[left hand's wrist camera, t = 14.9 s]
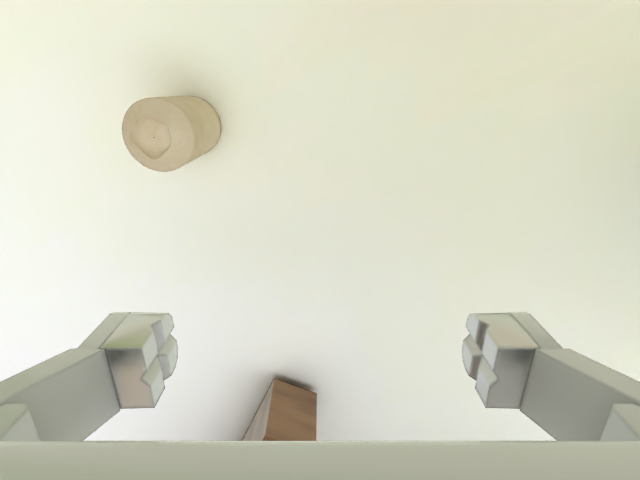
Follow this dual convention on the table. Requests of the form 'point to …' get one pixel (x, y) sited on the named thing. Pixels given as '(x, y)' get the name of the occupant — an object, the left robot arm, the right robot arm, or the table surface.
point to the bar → (284, 415)
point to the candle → (170, 131)
